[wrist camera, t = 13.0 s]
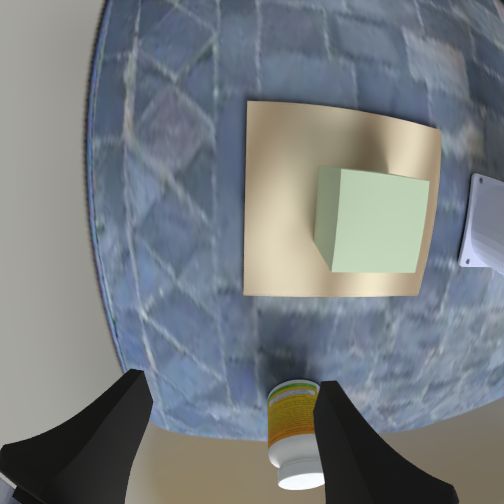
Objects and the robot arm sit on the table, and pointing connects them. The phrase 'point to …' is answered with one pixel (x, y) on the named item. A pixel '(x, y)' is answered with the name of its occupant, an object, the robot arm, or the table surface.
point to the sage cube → (369, 220)
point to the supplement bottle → (294, 435)
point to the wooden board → (305, 193)
